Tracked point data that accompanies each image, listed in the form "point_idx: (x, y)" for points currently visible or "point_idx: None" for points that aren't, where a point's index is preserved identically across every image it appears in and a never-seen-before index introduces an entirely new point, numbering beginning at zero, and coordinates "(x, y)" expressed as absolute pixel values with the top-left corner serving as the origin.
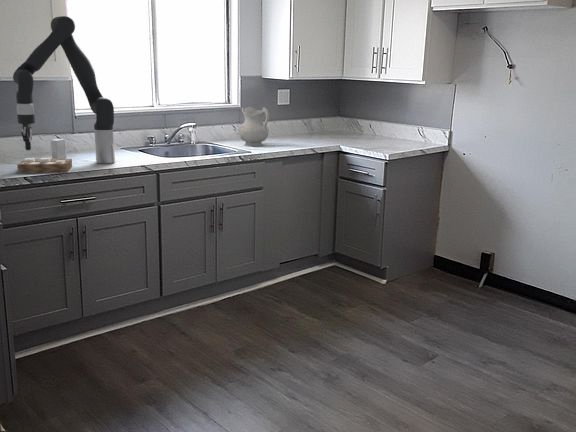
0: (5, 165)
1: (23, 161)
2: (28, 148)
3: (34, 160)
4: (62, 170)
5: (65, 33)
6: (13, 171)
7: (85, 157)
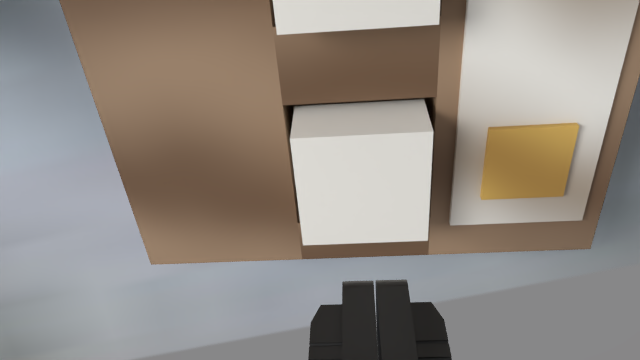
0: (114, 357)
1: None
2: (437, 322)
3: (343, 119)
4: None
5: None
6: None
7: None
